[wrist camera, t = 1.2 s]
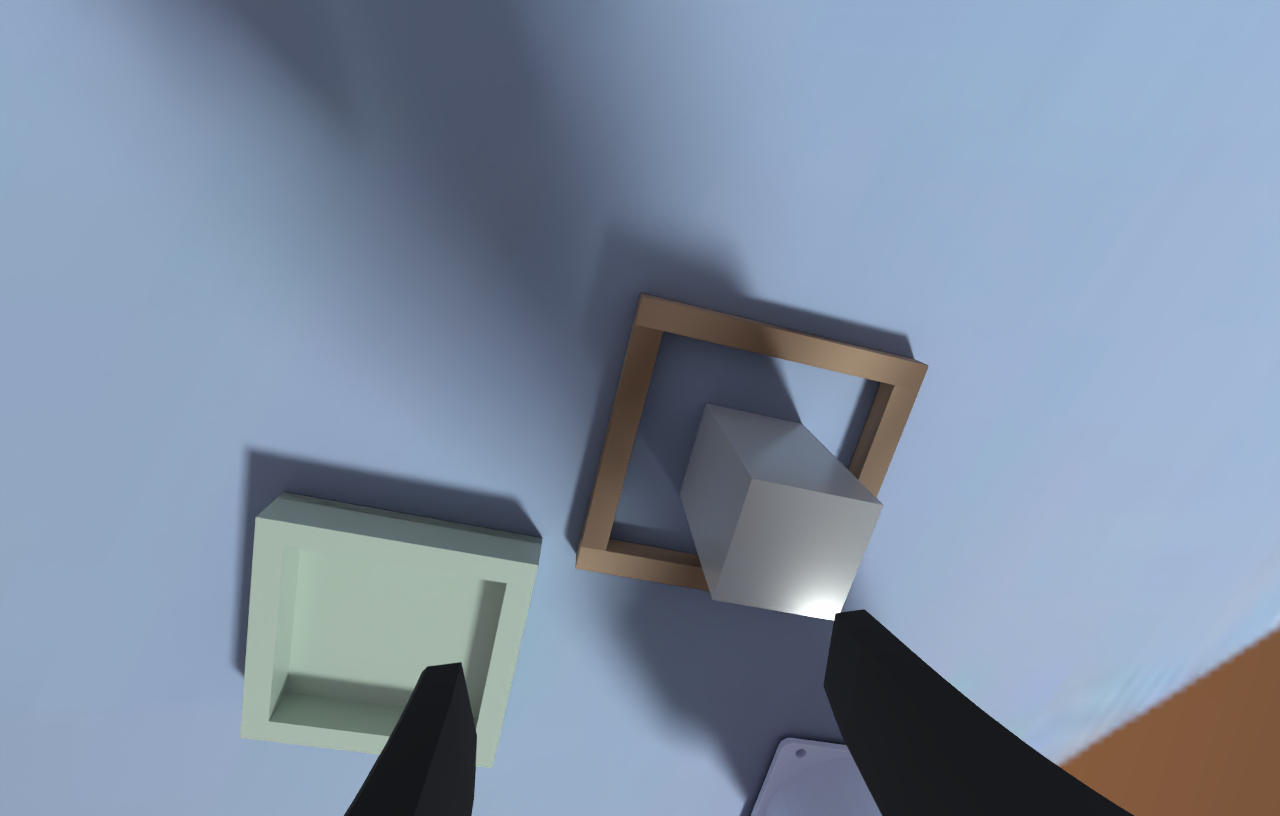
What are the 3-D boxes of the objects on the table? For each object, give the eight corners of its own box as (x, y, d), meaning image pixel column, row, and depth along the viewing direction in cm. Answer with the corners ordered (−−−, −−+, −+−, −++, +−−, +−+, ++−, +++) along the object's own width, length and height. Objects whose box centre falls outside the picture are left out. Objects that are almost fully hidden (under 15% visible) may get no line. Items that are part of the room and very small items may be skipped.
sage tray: (542, 537, 24) (538, 565, 23) (499, 729, 27) (492, 767, 25) (283, 491, 23) (255, 516, 21) (265, 699, 26) (240, 737, 24)
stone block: (802, 423, 24) (883, 505, 17) (771, 512, 25) (836, 621, 18) (706, 402, 23) (752, 478, 17) (679, 494, 24) (712, 600, 18)
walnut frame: (915, 359, 23) (928, 365, 22) (822, 597, 26) (830, 612, 25) (640, 292, 22) (642, 296, 21) (575, 554, 25) (575, 568, 24)
